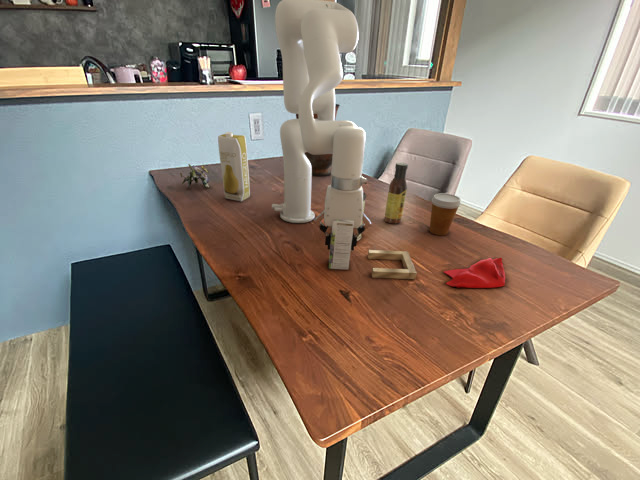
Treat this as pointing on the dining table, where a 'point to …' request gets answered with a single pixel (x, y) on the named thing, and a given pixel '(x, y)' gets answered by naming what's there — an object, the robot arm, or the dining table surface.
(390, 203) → the sauce bottle
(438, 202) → the disposable coffee cup
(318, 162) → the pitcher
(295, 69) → the robot arm
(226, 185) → the juice carton
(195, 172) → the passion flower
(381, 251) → the stop frame
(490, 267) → the cloth
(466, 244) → the dining table surface
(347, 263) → the syrup box
